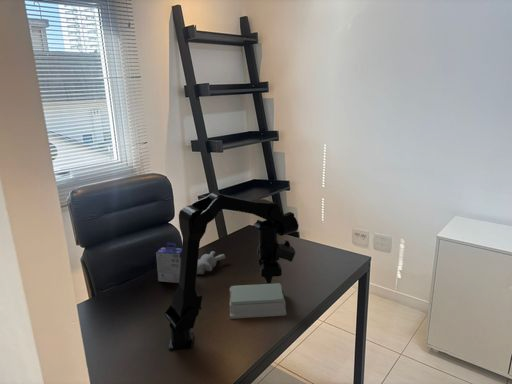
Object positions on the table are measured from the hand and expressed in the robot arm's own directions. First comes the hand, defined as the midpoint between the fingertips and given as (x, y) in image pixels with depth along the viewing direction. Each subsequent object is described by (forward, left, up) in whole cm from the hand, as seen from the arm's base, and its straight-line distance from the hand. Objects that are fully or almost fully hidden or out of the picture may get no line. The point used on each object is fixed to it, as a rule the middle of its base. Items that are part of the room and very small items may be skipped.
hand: (269, 283), depth 123 cm
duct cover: (+1, +4, -5) cm, 6 cm away
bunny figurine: (+30, +22, -9) cm, 39 cm away
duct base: (+2, +4, -8) cm, 10 cm away
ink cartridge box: (+22, +35, -9) cm, 42 cm away
